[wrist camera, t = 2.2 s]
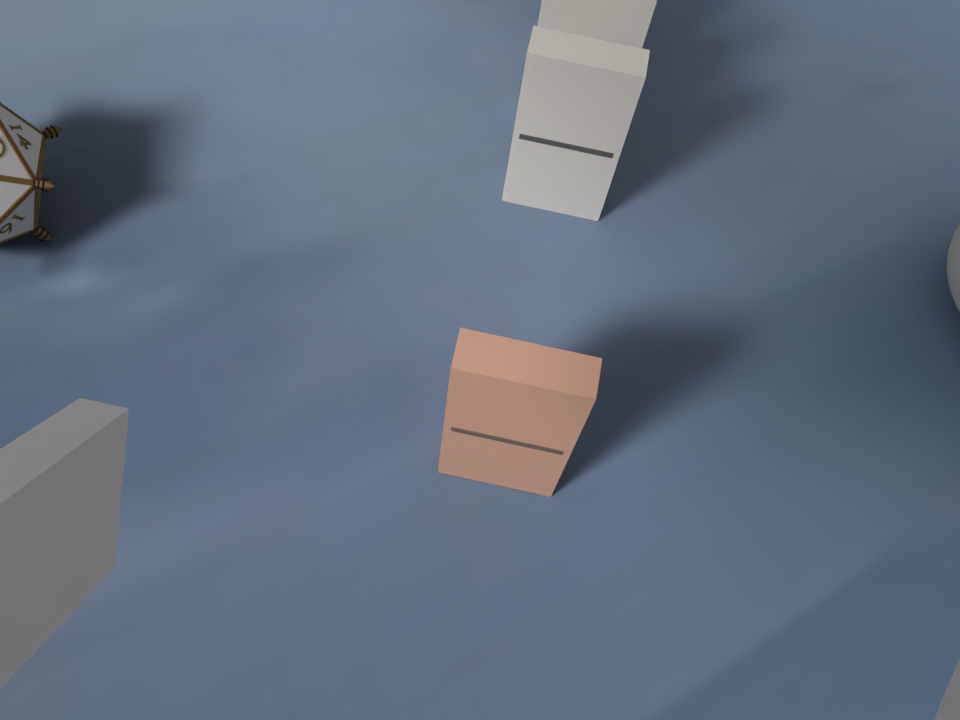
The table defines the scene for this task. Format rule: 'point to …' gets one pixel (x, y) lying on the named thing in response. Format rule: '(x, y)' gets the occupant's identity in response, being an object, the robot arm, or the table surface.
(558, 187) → the domino
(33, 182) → the game die
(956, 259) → the teacup
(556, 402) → the domino
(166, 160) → the table surface
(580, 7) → the domino
